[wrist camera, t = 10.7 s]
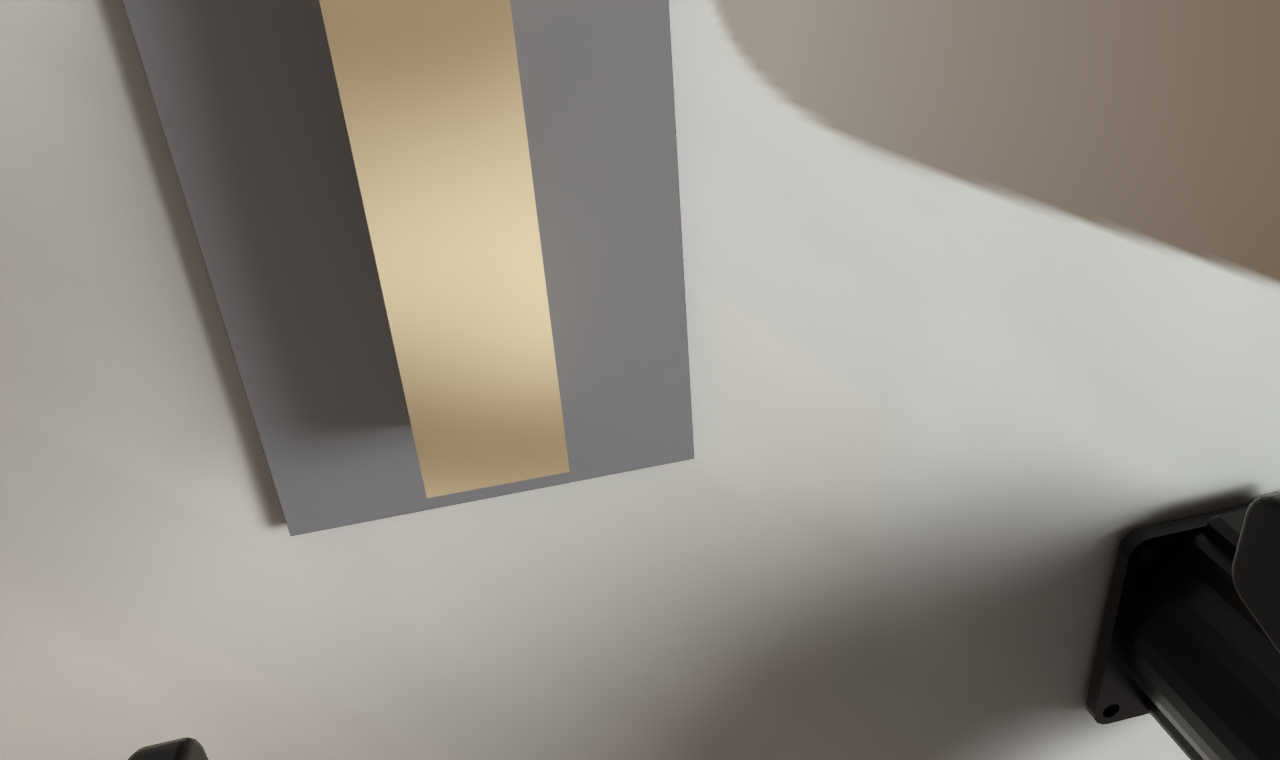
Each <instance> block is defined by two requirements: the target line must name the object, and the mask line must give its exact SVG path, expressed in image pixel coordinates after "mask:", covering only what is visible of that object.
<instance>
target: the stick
mask: <svg viewBox="0 0 1280 760" xmlns="http://www.w3.org/2000/svg"><path fill="white" fill-rule="evenodd" d="M319 2H320V7H321V11H322V16H323V20H324V25H325V30H326V34H327V39H328V44H329V48H330V53H331V57H332V62H333V67H334V71H335V76H336V80H337V85H338V90H339V94H340V99H341V104H342V108H343V113H344V117H345V122H346V127H347V131H348V136H349V140H350V145H351V150H352V154H353V159H354V164H355V168H356V173H357V177H358V182H359V187H360V191H361V196H362V201H363V205H364V210H365V214H366V219H367V224H368V228H369V233H370V237H371V242H372V247H373V251H374V256H375V261H376V265H377V270H378V274H379V279H380V284H381V288H382V293H383V298H384V302H385V307H386V311H387V316H388V321H389V325H390V330H391V334H392V339H393V344H394V348H395V353H396V358H397V362H398V367H399V371H400V376H401V381H402V385H403V390H404V395H405V399H406V404H407V408H408V413H409V418H410V422H411V427H412V431H413V436H414V441H415V445H416V450H417V455H418V459H419V464H420V468H421V473H422V478H423V482H424V487H425V492H426V496H427V498H432V497H437V496H442V495H448V494H453V493H458V492H464V491H469V490H474V489H480V488H485V487H490V486H496V485H501V484H507V483H512V482H517V481H523V480H528V479H533V478H539V477H544V476H549V475H555V474H560V473H565V472H570V470H569V462H568V455H567V447H566V439H565V431H564V423H563V415H562V407H561V399H560V391H559V383H558V376H557V368H556V360H555V352H554V344H553V336H552V328H551V320H550V312H549V305H548V297H547V289H546V281H545V273H544V265H543V257H542V249H541V241H540V233H539V226H538V218H537V210H536V202H535V194H534V186H533V178H532V170H531V162H530V155H529V147H528V139H527V131H526V123H525V115H524V107H523V99H522V91H521V83H520V76H519V68H518V60H517V52H516V44H515V36H514V28H513V20H512V12H511V5H510V0H319Z"/></svg>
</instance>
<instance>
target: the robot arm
mask: <svg viewBox="0 0 1280 760" xmlns="http://www.w3.org/2000/svg"><path fill="white" fill-rule="evenodd" d="M1086 709H1087V710H1088V712H1089V713H1090V714H1091V715H1092V717H1093V718H1094V719H1095V720H1096V722H1097V723H1100V724H1109V723H1112V722H1116V721H1120V720H1124V719H1128V718H1132V717H1136V716H1140V715H1144V714H1148V713H1150V714H1151V715H1152V716H1153V717H1154V718H1155V719H1156V720H1157V722H1158V723H1159V724H1160V725H1161V726H1162V727H1163V728H1164V730H1165V731H1166V732H1167V733H1168V734H1169V735H1170V737H1171V738H1172V739H1173V740H1174V741H1175V742H1176V743H1177V745H1178V746H1179V747H1180V748H1181V749H1182V750H1183V751H1184V753H1185V754H1186V755H1187V756H1188V757H1189V758H1190V759H1191V760H1280V492H1277V493H1272V494H1268V495H1264V496H1260V497H1258V498H1256V499H1255V500H1254V501H1253V502H1252V503H1251V504H1249V505H1244V506H1240V507H1235V508H1230V509H1226V510H1221V511H1217V512H1212V513H1208V514H1203V515H1199V516H1194V517H1190V518H1185V519H1181V520H1176V521H1171V522H1167V523H1162V524H1158V525H1153V526H1149V527H1144V528H1140V529H1137V530H1135V531H1132V532H1131V533H1130V534H1128V535H1127V536H1126V537H1125V538H1124V539H1123V540H1122V542H1121V544H1120V546H1119V549H1118V554H1117V558H1116V563H1115V568H1114V573H1113V577H1112V582H1111V587H1110V592H1109V596H1108V601H1107V606H1106V611H1105V615H1104V620H1103V625H1102V630H1101V634H1100V639H1099V644H1098V649H1097V653H1096V658H1095V663H1094V667H1093V672H1092V677H1091V682H1090V686H1089V691H1088V696H1087V701H1086ZM128 760H208V758H207V755H206V753H205V751H204V749H203V747H202V746H201V744H200V743H199V742H198V741H197V740H196V739H193V738H182V739H177V740H173V741H168V742H164V743H160V744H155V745H151V746H146V747H143V748H141V749H139V750H138V751H136V752H135V753H134V754H133V755H132V756H131V757H130V758H129V759H128Z"/></svg>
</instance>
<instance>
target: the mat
mask: <svg viewBox="0 0 1280 760" xmlns="http://www.w3.org/2000/svg"><path fill="white" fill-rule="evenodd" d="M123 3H124V6H125V9H126V13H127V16H128V19H129V22H130V25H131V29H132V32H133V35H134V38H135V41H136V45H137V48H138V51H139V54H140V57H141V60H142V64H143V67H144V70H145V73H146V76H147V80H148V83H149V86H150V89H151V92H152V96H153V99H154V102H155V105H156V108H157V111H158V115H159V118H160V121H161V124H162V127H163V131H164V134H165V137H166V140H167V143H168V147H169V150H170V153H171V156H172V159H173V163H174V166H175V169H176V172H177V175H178V178H179V182H180V185H181V188H182V191H183V194H184V198H185V201H186V204H187V207H188V210H189V214H190V217H191V220H192V223H193V226H194V229H195V233H196V236H197V239H198V242H199V245H200V249H201V252H202V255H203V258H204V261H205V265H206V268H207V271H208V274H209V277H210V280H211V284H212V287H213V290H214V293H215V296H216V300H217V303H218V306H219V309H220V312H221V316H222V319H223V322H224V325H225V328H226V331H227V335H228V338H229V341H230V344H231V347H232V351H233V354H234V357H235V360H236V363H237V367H238V370H239V373H240V376H241V379H242V382H243V386H244V389H245V392H246V395H247V398H248V402H249V405H250V408H251V411H252V414H253V418H254V421H255V424H256V427H257V430H258V433H259V437H260V440H261V443H262V446H263V449H264V453H265V456H266V459H267V462H268V465H269V469H270V472H271V475H272V478H273V481H274V485H275V488H276V491H277V494H278V497H279V500H280V504H281V507H282V510H283V513H284V516H285V520H286V523H287V526H288V529H289V532H290V536H294V535H299V534H305V533H310V532H315V531H320V530H325V529H331V528H336V527H341V526H346V525H351V524H357V523H362V522H367V521H372V520H377V519H383V518H388V517H393V516H398V515H403V514H408V513H414V512H419V511H424V510H429V509H434V508H440V507H445V506H450V505H455V504H460V503H466V502H471V501H476V500H481V499H486V498H492V497H497V496H502V495H507V494H512V493H517V492H523V491H528V490H533V489H538V488H543V487H549V486H554V485H559V484H564V483H569V482H575V481H580V480H585V479H590V478H595V477H601V476H606V475H611V474H616V473H621V472H626V471H632V470H637V469H642V468H647V467H652V466H658V465H663V464H668V463H673V462H678V461H684V460H689V459H694V446H693V428H692V410H691V393H690V375H689V357H688V339H687V321H686V304H685V286H684V268H683V250H682V232H681V215H680V197H679V179H678V161H677V143H676V125H675V108H674V90H673V72H672V54H671V36H670V19H669V1H668V0H510V5H511V12H512V20H513V28H514V36H515V44H516V52H517V60H518V68H519V76H520V83H521V91H522V99H523V107H524V115H525V123H526V131H527V139H528V147H529V155H530V162H531V170H532V178H533V186H534V194H535V202H536V210H537V218H538V226H539V233H540V241H541V249H542V257H543V265H544V273H545V281H546V289H547V297H548V305H549V312H550V320H551V328H552V336H553V344H554V352H555V360H556V368H557V376H558V383H559V391H560V399H561V407H562V415H563V423H564V431H565V439H566V447H567V455H568V462H569V470H570V472H565V473H560V474H555V475H549V476H544V477H539V478H533V479H528V480H523V481H517V482H512V483H507V484H501V485H496V486H490V487H485V488H480V489H474V490H469V491H464V492H458V493H453V494H448V495H442V496H437V497H432V498H427V496H426V492H425V487H424V482H423V478H422V473H421V468H420V464H419V459H418V455H417V450H416V445H415V441H414V436H413V431H412V427H411V422H410V418H409V413H408V408H407V404H406V399H405V395H404V390H403V385H402V381H401V376H400V371H399V367H398V362H397V358H396V353H395V348H394V344H393V339H392V334H391V330H390V325H389V321H388V316H387V311H386V307H385V302H384V298H383V293H382V288H381V284H380V279H379V274H378V270H377V265H376V261H375V256H374V251H373V247H372V242H371V237H370V233H369V228H368V224H367V219H366V214H365V210H364V205H363V201H362V196H361V191H360V187H359V182H358V177H357V173H356V168H355V164H354V159H353V154H352V150H351V145H350V140H349V136H348V131H347V127H346V122H345V117H344V113H343V108H342V104H341V99H340V94H339V90H338V85H337V80H336V76H335V71H334V67H333V62H332V57H331V53H330V48H329V44H328V39H327V34H326V30H325V25H324V20H323V16H322V11H321V7H320V2H319V0H123Z"/></svg>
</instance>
